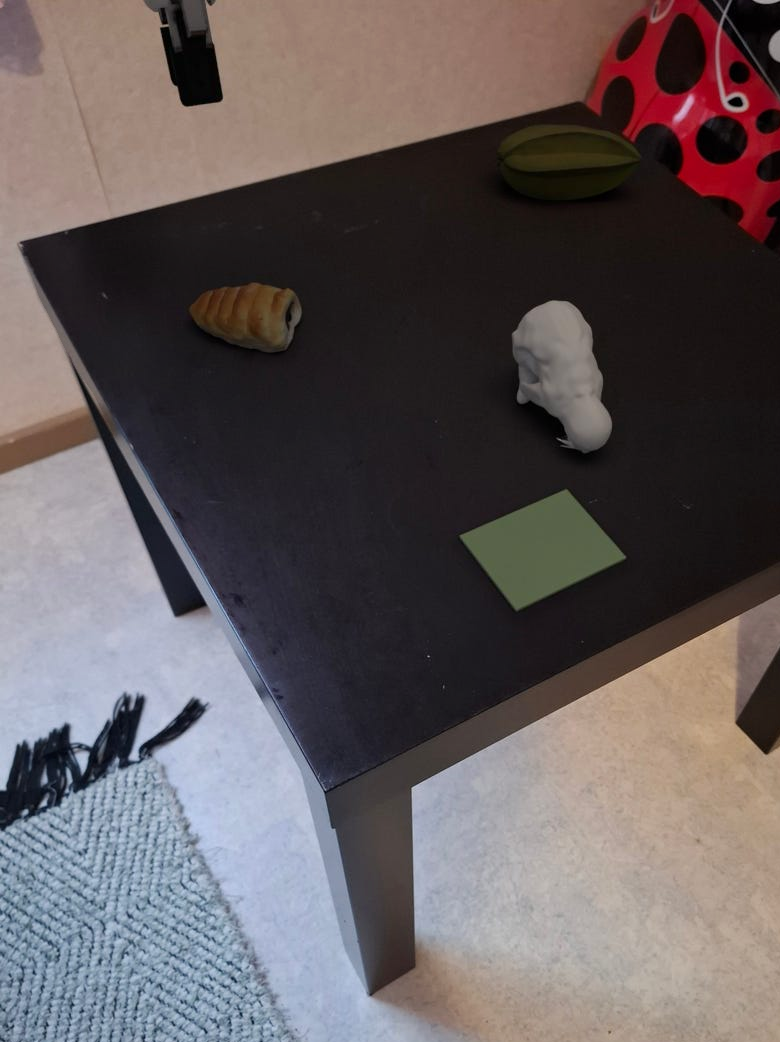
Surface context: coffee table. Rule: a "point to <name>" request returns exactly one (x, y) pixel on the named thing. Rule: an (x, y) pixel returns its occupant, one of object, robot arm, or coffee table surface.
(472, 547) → the cloth
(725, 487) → the coffee table surface
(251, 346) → the pastry
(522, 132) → the fruit
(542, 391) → the grey lumpy elongated piece
